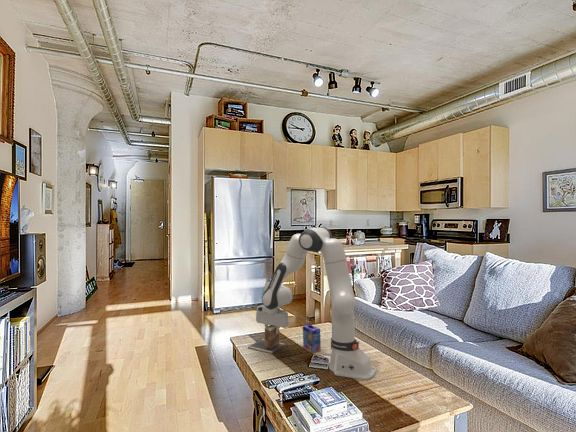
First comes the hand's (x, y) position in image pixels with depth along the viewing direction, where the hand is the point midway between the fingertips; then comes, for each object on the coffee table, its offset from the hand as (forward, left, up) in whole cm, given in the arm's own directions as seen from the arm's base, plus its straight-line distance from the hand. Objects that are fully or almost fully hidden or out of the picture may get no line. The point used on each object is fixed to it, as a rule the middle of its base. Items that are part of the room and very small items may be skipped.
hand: (272, 332), depth 187 cm
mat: (+4, 0, -9) cm, 10 cm away
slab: (0, 0, -7) cm, 7 cm away
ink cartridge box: (-20, -10, -9) cm, 24 cm away
